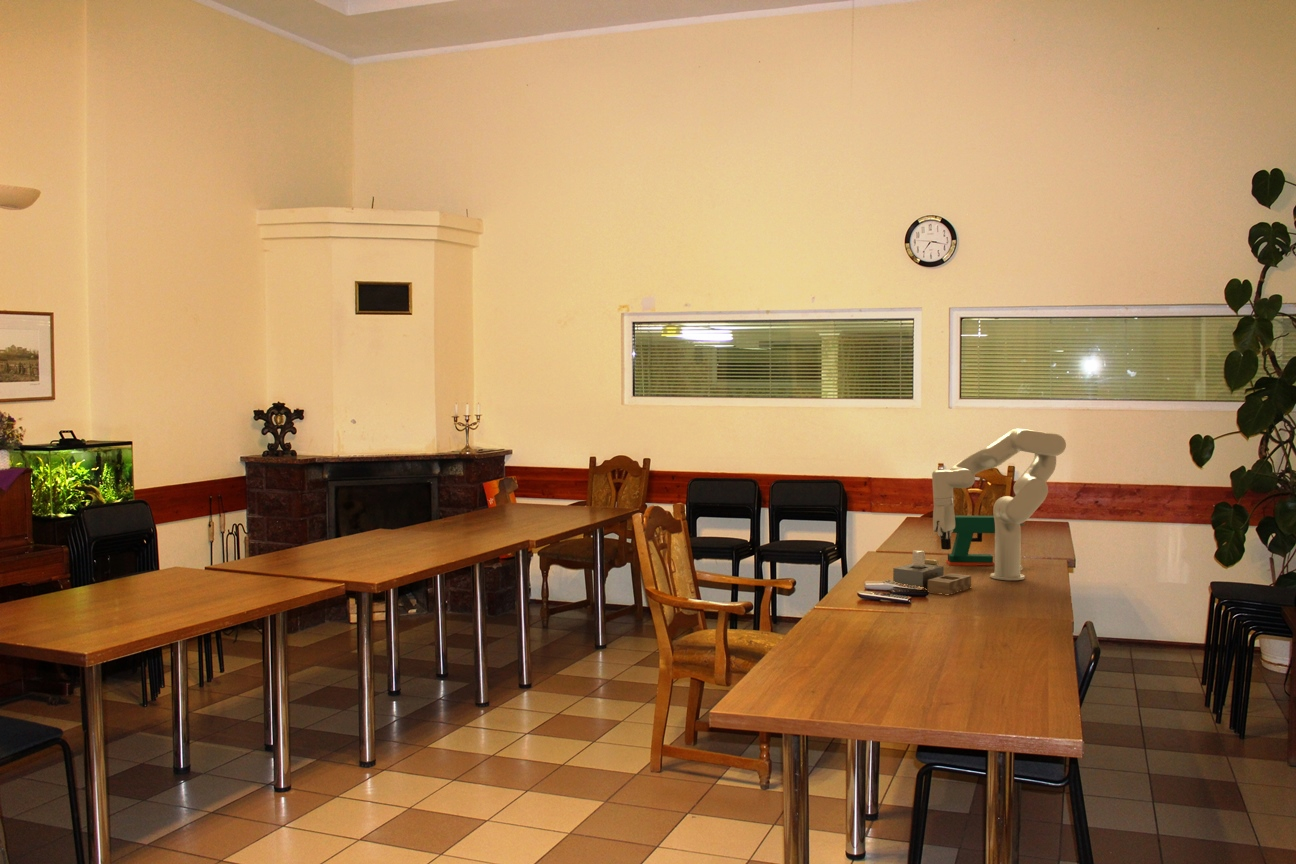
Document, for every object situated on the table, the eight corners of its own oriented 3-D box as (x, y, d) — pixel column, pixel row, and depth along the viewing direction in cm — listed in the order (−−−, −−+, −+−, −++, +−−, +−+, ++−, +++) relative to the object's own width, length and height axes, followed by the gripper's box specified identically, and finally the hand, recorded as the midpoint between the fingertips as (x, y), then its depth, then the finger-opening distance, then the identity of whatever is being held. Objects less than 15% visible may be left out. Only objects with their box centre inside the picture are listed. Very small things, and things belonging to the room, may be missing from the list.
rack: (950, 585, 397) (950, 573, 396) (971, 588, 391) (971, 575, 391) (927, 592, 383) (927, 580, 383) (948, 595, 378) (948, 582, 378)
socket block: (914, 580, 406) (914, 562, 405) (943, 584, 398) (943, 566, 397) (893, 586, 394) (893, 568, 394) (922, 591, 386) (922, 571, 385)
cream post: (916, 584, 399) (916, 549, 398) (926, 585, 396) (926, 551, 395) (910, 586, 396) (910, 551, 395) (920, 587, 393) (921, 552, 392)
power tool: (1023, 563, 445) (1024, 515, 444) (1028, 566, 438) (1028, 517, 437) (945, 562, 448) (946, 515, 447) (949, 565, 441) (949, 517, 440)
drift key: (926, 577, 405) (926, 558, 405) (938, 578, 402) (938, 560, 402) (916, 579, 400) (916, 561, 399) (928, 581, 396) (928, 562, 396)
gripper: (943, 499, 416) (946, 545, 417) (925, 504, 405) (928, 551, 406) (961, 499, 411) (964, 546, 412) (943, 504, 400) (946, 552, 401)
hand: (946, 549), depth 409 cm, fingers closed
